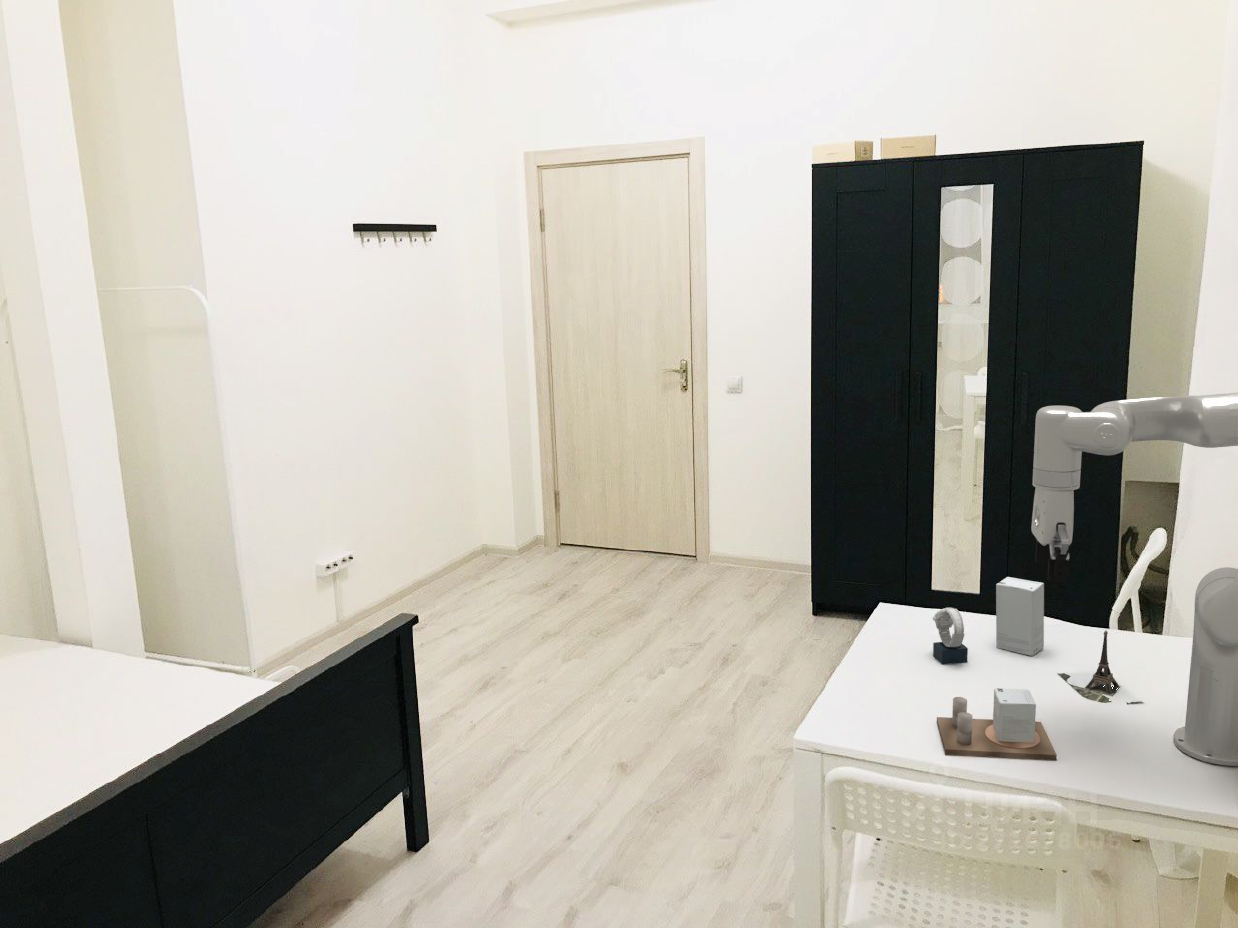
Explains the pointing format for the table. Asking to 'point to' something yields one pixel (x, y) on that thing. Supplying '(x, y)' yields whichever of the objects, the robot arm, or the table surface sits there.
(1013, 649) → the skincare box
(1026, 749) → the board
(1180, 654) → the table surface
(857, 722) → the table surface
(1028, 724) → the skincare box
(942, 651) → the watch
